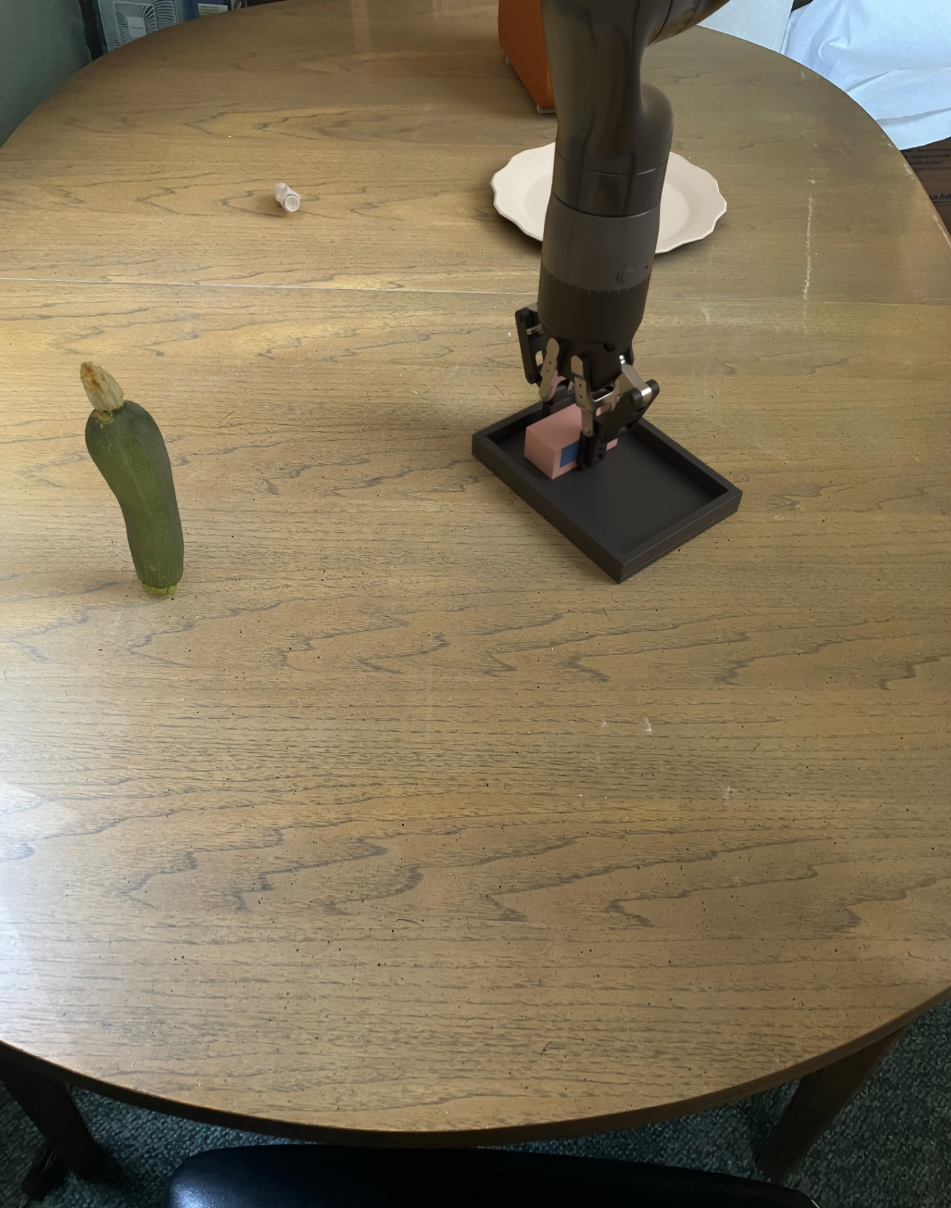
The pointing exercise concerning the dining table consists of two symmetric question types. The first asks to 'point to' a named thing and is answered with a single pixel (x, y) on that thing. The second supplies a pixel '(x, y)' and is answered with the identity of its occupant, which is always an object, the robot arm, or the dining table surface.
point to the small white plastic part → (286, 197)
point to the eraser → (556, 441)
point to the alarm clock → (526, 48)
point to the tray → (614, 492)
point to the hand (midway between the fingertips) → (570, 448)
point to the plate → (683, 207)
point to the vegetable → (136, 479)
